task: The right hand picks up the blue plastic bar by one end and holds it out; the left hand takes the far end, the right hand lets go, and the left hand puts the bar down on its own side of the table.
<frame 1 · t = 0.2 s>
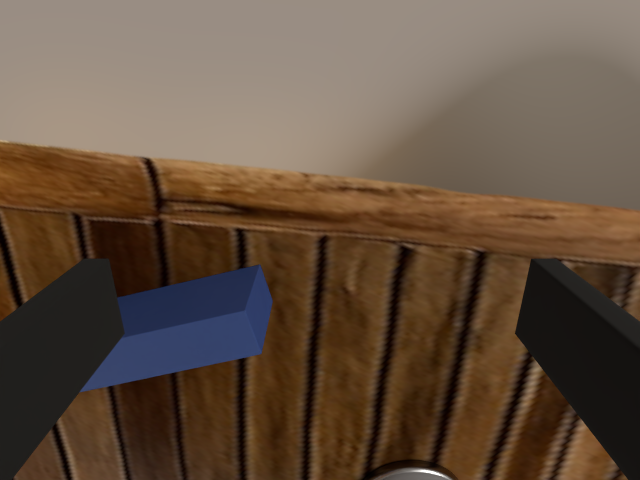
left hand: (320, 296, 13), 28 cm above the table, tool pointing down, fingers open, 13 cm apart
bar: (154, 308, 45), on the table
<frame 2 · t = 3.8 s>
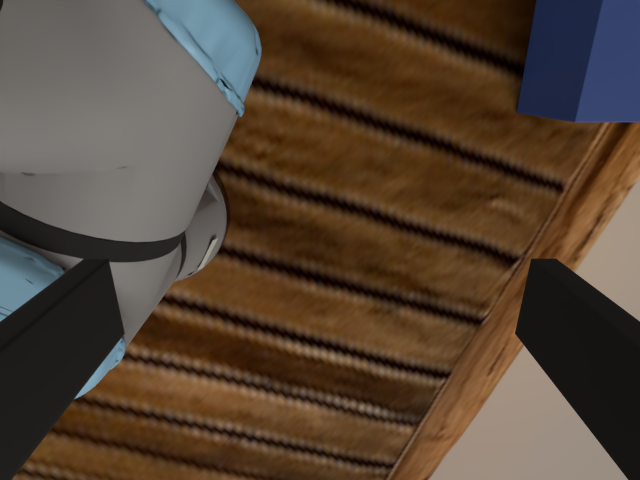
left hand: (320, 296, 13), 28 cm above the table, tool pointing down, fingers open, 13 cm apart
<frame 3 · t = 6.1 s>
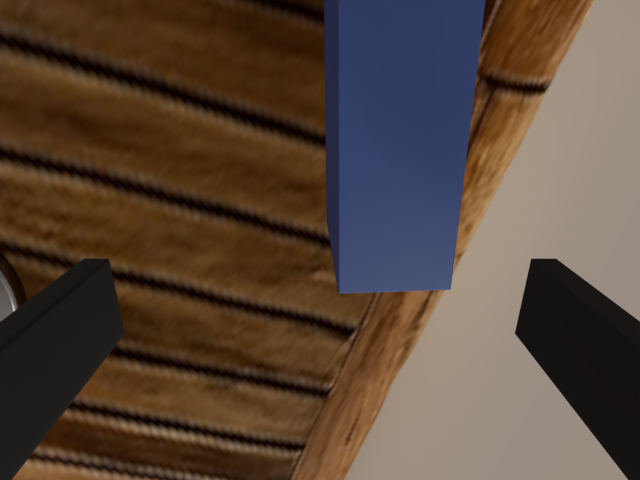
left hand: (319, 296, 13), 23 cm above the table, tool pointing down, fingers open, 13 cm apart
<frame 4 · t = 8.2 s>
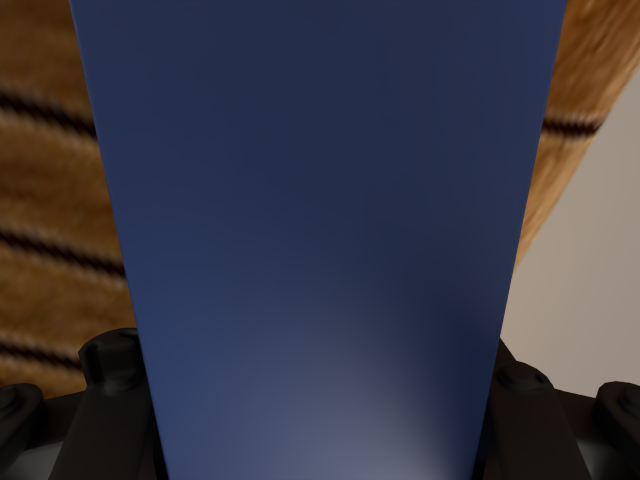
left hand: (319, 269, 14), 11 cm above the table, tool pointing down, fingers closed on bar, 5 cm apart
when the right hand's fingers open (14 cm above the table, at t = 8.9 s): bar stays where it is, held by the left hand.
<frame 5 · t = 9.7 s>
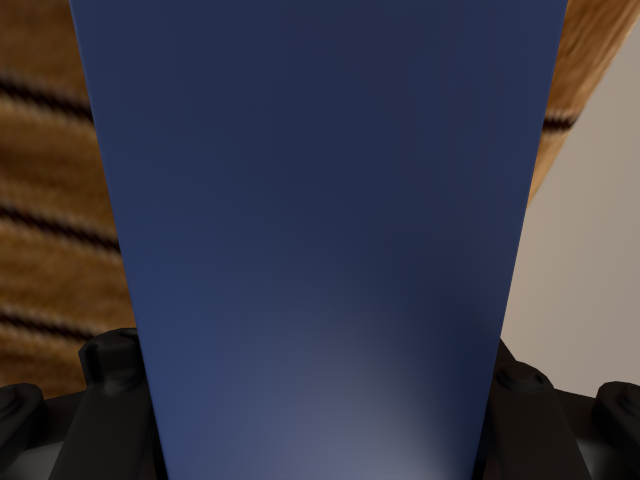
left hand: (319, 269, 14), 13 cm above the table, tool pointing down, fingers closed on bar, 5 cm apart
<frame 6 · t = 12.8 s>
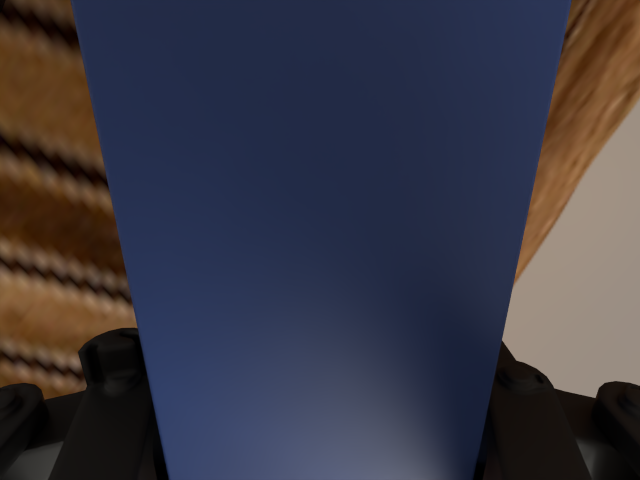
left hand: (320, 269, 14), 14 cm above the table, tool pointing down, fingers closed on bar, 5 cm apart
when the left hand's fingers open (2 cm above the table, at t = 17.7 s): bar drops 1 cm, on the table.
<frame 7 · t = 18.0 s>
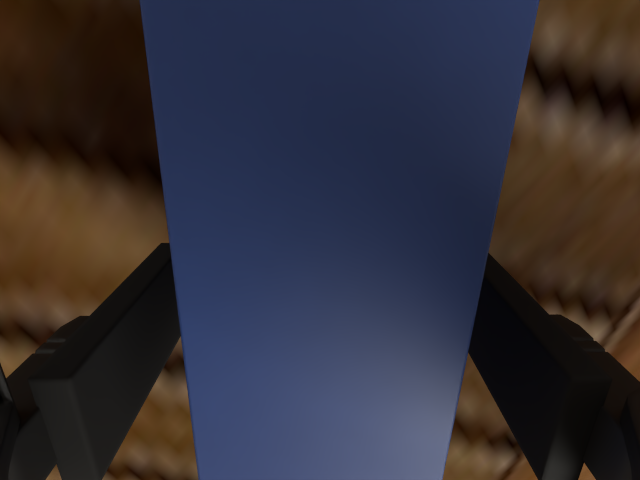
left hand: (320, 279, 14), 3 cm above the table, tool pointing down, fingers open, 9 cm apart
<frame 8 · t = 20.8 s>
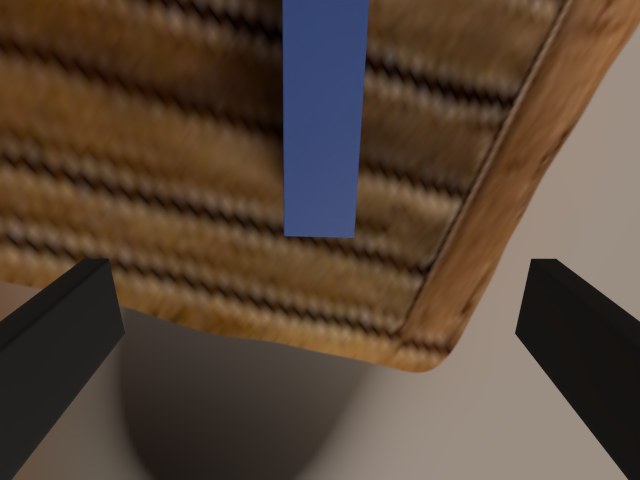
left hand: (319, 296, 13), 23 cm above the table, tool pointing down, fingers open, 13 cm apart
bar: (324, 32, 31), on the table
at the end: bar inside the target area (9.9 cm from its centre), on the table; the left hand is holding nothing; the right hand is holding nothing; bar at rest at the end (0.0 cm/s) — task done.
